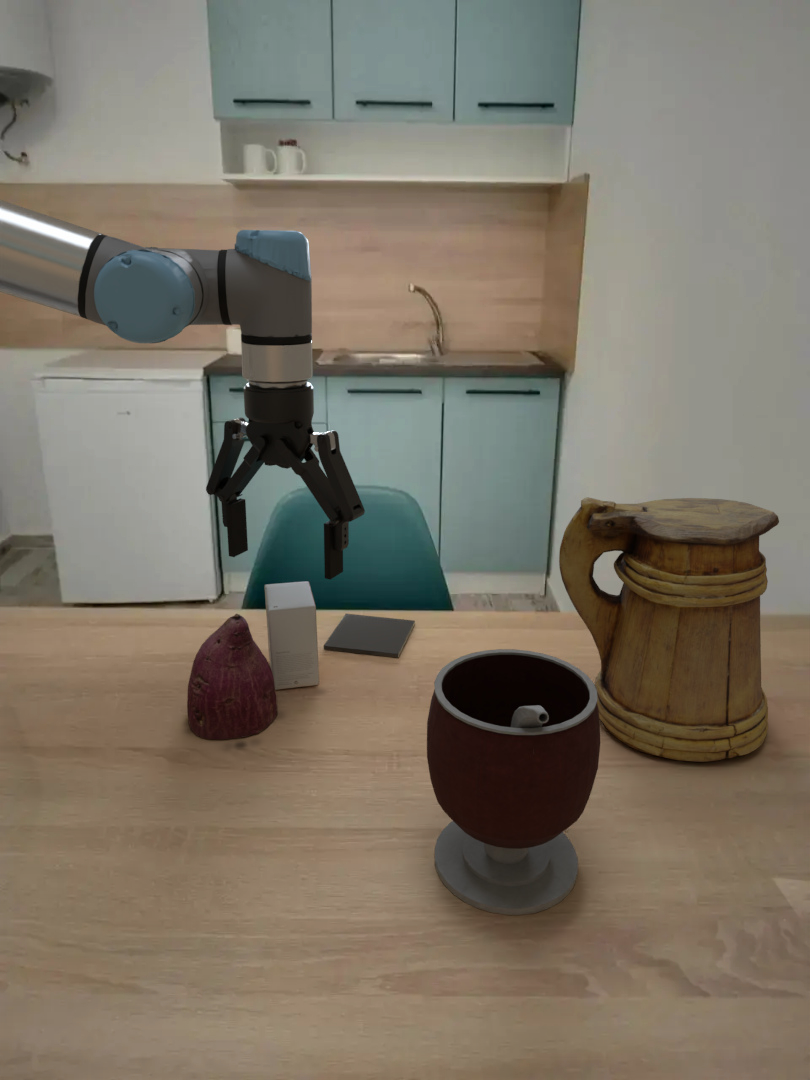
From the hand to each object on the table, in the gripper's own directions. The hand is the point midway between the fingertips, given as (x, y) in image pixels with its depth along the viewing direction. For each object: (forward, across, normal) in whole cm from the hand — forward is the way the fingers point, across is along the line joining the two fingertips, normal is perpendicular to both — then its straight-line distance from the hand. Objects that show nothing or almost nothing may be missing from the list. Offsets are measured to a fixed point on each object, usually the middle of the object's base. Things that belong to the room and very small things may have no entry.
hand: (284, 564), depth 97 cm
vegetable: (+15, 0, +11) cm, 18 cm away
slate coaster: (+14, -4, -13) cm, 20 cm away
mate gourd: (+14, -36, +19) cm, 43 cm away
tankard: (+14, -42, -11) cm, 46 cm away
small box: (+15, 0, 0) cm, 15 cm away
